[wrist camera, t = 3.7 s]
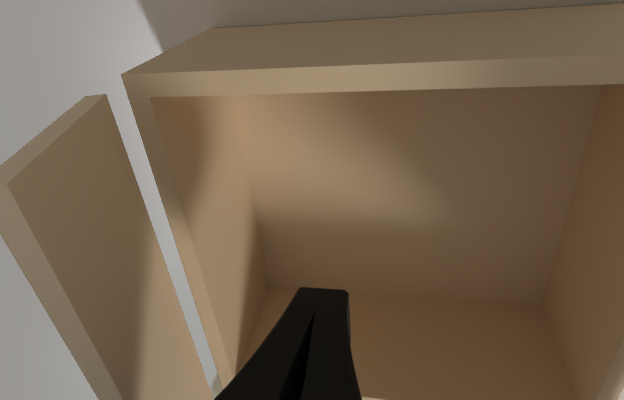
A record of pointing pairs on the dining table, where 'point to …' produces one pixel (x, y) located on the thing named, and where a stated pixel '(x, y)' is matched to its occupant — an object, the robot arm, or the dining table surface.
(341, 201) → the carton
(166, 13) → the dining table surface
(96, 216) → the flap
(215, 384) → the dining table surface
